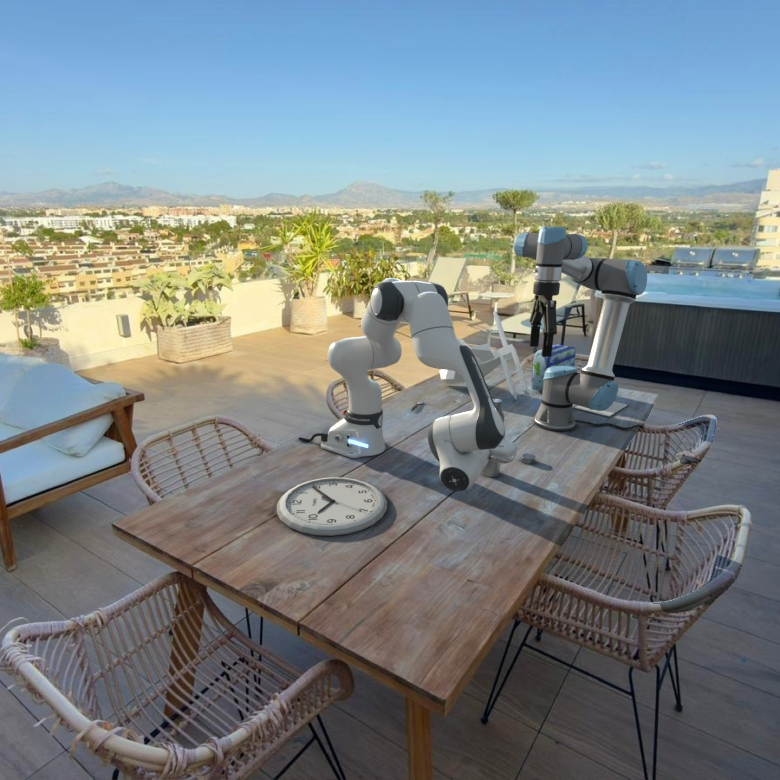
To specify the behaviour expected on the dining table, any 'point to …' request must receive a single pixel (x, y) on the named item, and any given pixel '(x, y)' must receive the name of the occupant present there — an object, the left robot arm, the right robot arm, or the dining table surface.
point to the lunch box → (550, 363)
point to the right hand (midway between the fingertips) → (539, 351)
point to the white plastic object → (491, 361)
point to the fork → (418, 403)
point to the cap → (528, 458)
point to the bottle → (491, 467)
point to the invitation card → (608, 412)
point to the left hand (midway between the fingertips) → (485, 436)
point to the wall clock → (331, 506)
